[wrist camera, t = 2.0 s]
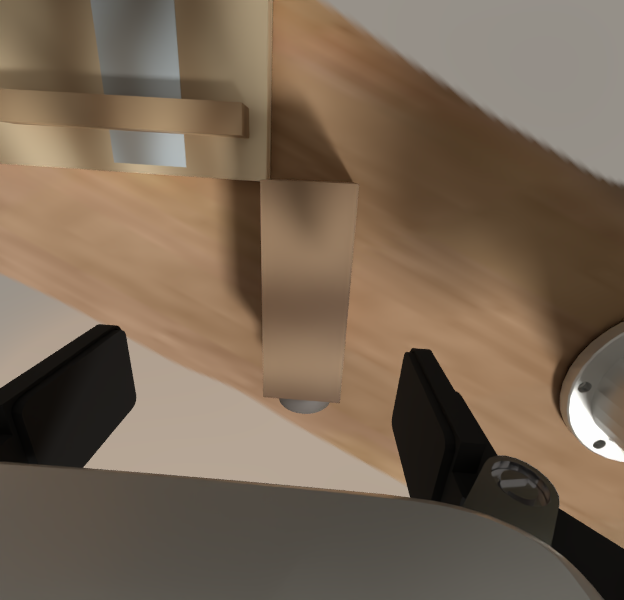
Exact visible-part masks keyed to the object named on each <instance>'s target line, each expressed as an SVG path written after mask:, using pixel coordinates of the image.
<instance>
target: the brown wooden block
mask: <svg viewBox="0 0 624 600" xmlns="http://www.w3.org/2000/svg"><path fill="white" fill-rule="evenodd" d="M358 193H359V184H357V183H353V182H332V181H310V180H288V179H262V180H260V208H261V274H262V341H263V397H270V398H279V400H280V402H281V404H282V405H283V406H284V407H285V408H287V409H288V410H290V411H293V412H296V413H302V414H310V413H315V412H318V411H321V410H323V409H324V408H326V407H327V406H328V404H329V403H330V402H331V403H340V396H341V384H342V373H343V362H344V351H345V339H346V328H347V317H348V306H349V294H350V283H351V272H352V261H353V250H354V238H355V227H356V216H357V205H358Z"/></svg>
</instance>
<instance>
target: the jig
mask: <svg viewBox="0 0 624 600" xmlns="http://www.w3.org/2000/svg"><path fill="white" fill-rule="evenodd" d="M272 22H273V0H0V164H13V165H28V166H43V167H57V168H72V169H87V170H101V171H116V172H130V173H145V174H160V175H174V176H189V177H204V178H218V179H233V180H248V181H260V180H262V179H270V159H271V90H272Z"/></svg>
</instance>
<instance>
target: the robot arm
mask: <svg viewBox="0 0 624 600" xmlns="http://www.w3.org/2000/svg"><path fill="white" fill-rule="evenodd" d="M135 402H136V392H135V386H134V380H133V374H132V368H131V363H130V357H129V351H128V345H127V339H126V334H125V332H124V331H123V330H121V328H120V327H119V326H115V325H102V324H99V325H96V326H95V327H93V328H92V329H90V330H89V331H87V332H86V333H84V334H83V335H81V336H80V337H78V338H76V339H75V340H74V341H72V342H70V343H69V344H67V345H66V346H64V347H63V348H61V349H60V350H58V351H57V352H55V353H54V354H52V355H50V356H49V357H48V358H46V359H44V360H43V361H41V362H40V363H38V364H37V365H35V366H34V367H32V368H31V369H29V370H28V371H26V372H24V373H23V374H21V375H20V376H18V377H17V378H15V379H14V380H12V381H11V382H9V383H8V384H6V385H5V386H3V387H2V388H0V600H624V549H623V548H621V547H620V546H618V545H617V544H615V543H613V542H612V541H610V540H609V539H607V538H605V537H604V536H602V535H601V534H599V533H597V532H596V531H594V530H593V529H591V528H590V527H588V526H586V525H585V524H583V523H582V522H580V521H578V520H577V519H575V518H574V517H572V516H570V515H569V514H567V513H566V512H564V511H562V510H561V509H559V495H558V493H557V491H556V489H555V487H554V486H553V485H552V483H551V482H550V481H549V480H548V478H547V477H545V476H544V475H543V474H542V473H541V472H540V471H538V470H537V469H536V468H534V467H532V466H531V465H529V464H528V463H526V462H523V461H521V460H519V459H517V458H513V457H509V456H498V455H497V454H496V452H495V450H494V449H493V447H492V446H491V444H490V442H489V441H488V439H487V437H486V436H485V434H484V432H483V431H482V429H481V427H480V426H479V424H478V422H477V421H476V419H475V418H474V416H473V414H472V413H471V411H470V409H469V408H468V406H467V404H466V403H465V401H464V399H463V398H462V396H461V395H460V394H459V393H458V392H456V391H455V390H454V389H453V387H452V385H451V384H450V382H449V380H448V378H447V377H446V375H445V373H444V372H443V370H442V368H441V367H440V365H439V363H438V362H437V360H436V358H435V356H434V355H433V353H432V351H431V350H429V349H416V348H412V349H411V351H410V352H406V353H405V354H404V358H403V364H402V369H401V374H400V379H399V384H398V389H397V395H396V400H395V405H394V410H393V415H392V428H393V432H394V436H395V440H396V444H397V448H398V452H399V456H400V460H401V464H402V467H403V471H404V475H405V479H406V483H407V487H408V491H409V495H410V498H409V497H401V496H393V495H386V494H375V493H364V492H354V491H345V490H334V489H323V488H312V487H301V486H290V485H279V484H268V483H257V482H246V481H235V480H223V479H222V480H221V479H211V478H200V477H199V478H198V477H188V476H176V475H164V474H152V473H140V472H128V471H116V470H103V469H90V468H83V467H84V466H85V465H86V463H87V462H88V461H89V460H90V459H91V457H92V456H93V455H94V454H95V453H96V451H97V450H98V449H99V448H100V447H101V445H102V444H103V443H104V442H105V441H106V439H107V438H108V437H109V436H110V434H111V433H112V432H113V431H114V430H115V429H116V427H117V426H118V425H119V424H120V423H121V421H122V420H123V419H124V418H125V417H126V415H127V414H128V413H129V412H130V411H131V409H132V408H133V407H134V405H135ZM560 410H561V414H562V417H563V421H564V422H565V424H566V426H567V427H568V429H569V430H570V432H571V433H572V434H573V435H574V436H575V437H576V438H577V439H578V440H579V441H580V442H581V444H583V445H584V446H585V447H586V448H588V449H589V450H590V451H592V452H594V453H596V454H598V455H600V456H603V457H605V458H608V459H612V460H616V461H620V462H624V321H623V322H621V323H620V324H618V325H616V326H614V327H612V328H610V329H609V330H607V331H606V332H605V333H603V334H602V335H601V336H599V337H598V338H596V339H595V340H594V341H593V342H591V343H590V344H589V345H588V346H587V347H586V348H585V349H584V350H583V351H582V352H581V353H580V354H579V356H578V357H577V359H576V360H575V361H574V363H573V364H572V366H571V367H570V368H569V370H568V373H567V375H566V377H565V379H564V381H563V384H562V388H561V393H560Z"/></svg>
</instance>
